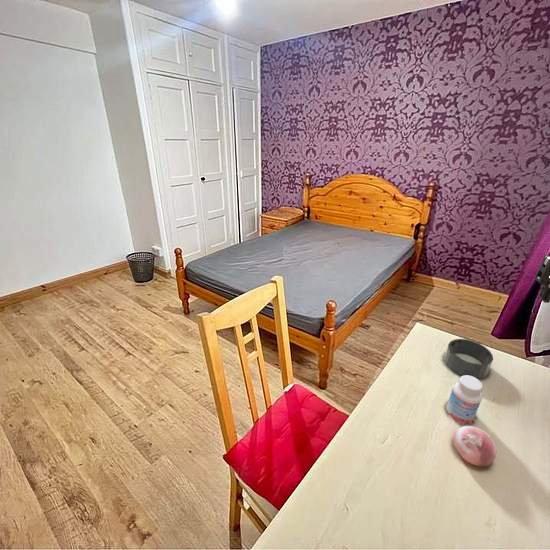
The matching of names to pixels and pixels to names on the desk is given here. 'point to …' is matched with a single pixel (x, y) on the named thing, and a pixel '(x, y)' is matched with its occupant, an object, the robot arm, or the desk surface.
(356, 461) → the desk surface
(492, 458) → the onion
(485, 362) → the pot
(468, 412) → the pill bottle
